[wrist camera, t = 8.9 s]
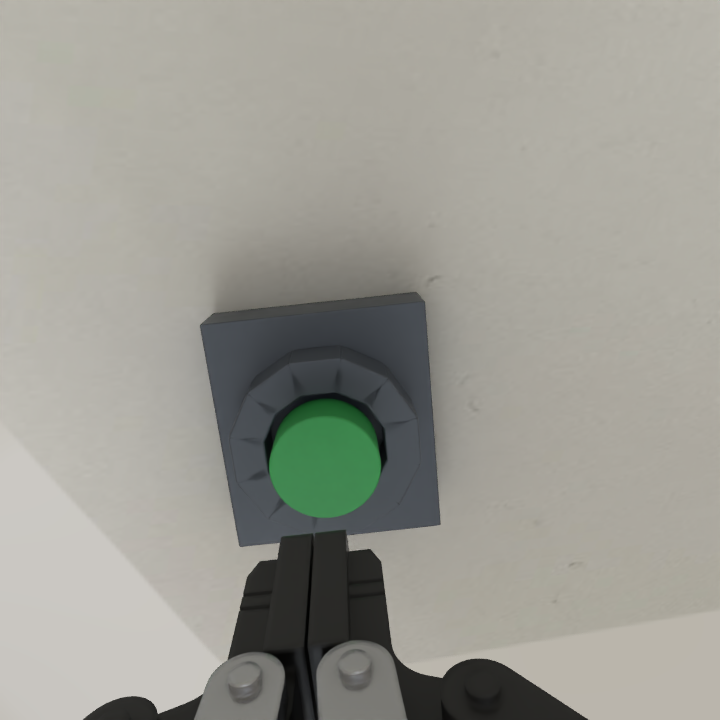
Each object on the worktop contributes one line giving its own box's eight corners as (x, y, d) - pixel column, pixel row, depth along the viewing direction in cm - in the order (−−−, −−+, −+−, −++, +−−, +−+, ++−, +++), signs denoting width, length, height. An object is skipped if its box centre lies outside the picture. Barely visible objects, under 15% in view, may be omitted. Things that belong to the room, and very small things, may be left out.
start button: (382, 487, 20) (385, 512, 19) (282, 497, 20) (277, 524, 19) (372, 392, 20) (376, 410, 18) (267, 403, 20) (261, 422, 18)
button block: (431, 498, 25) (449, 552, 21) (247, 517, 25) (230, 576, 21) (416, 291, 22) (433, 310, 18) (212, 313, 22) (186, 336, 18)
